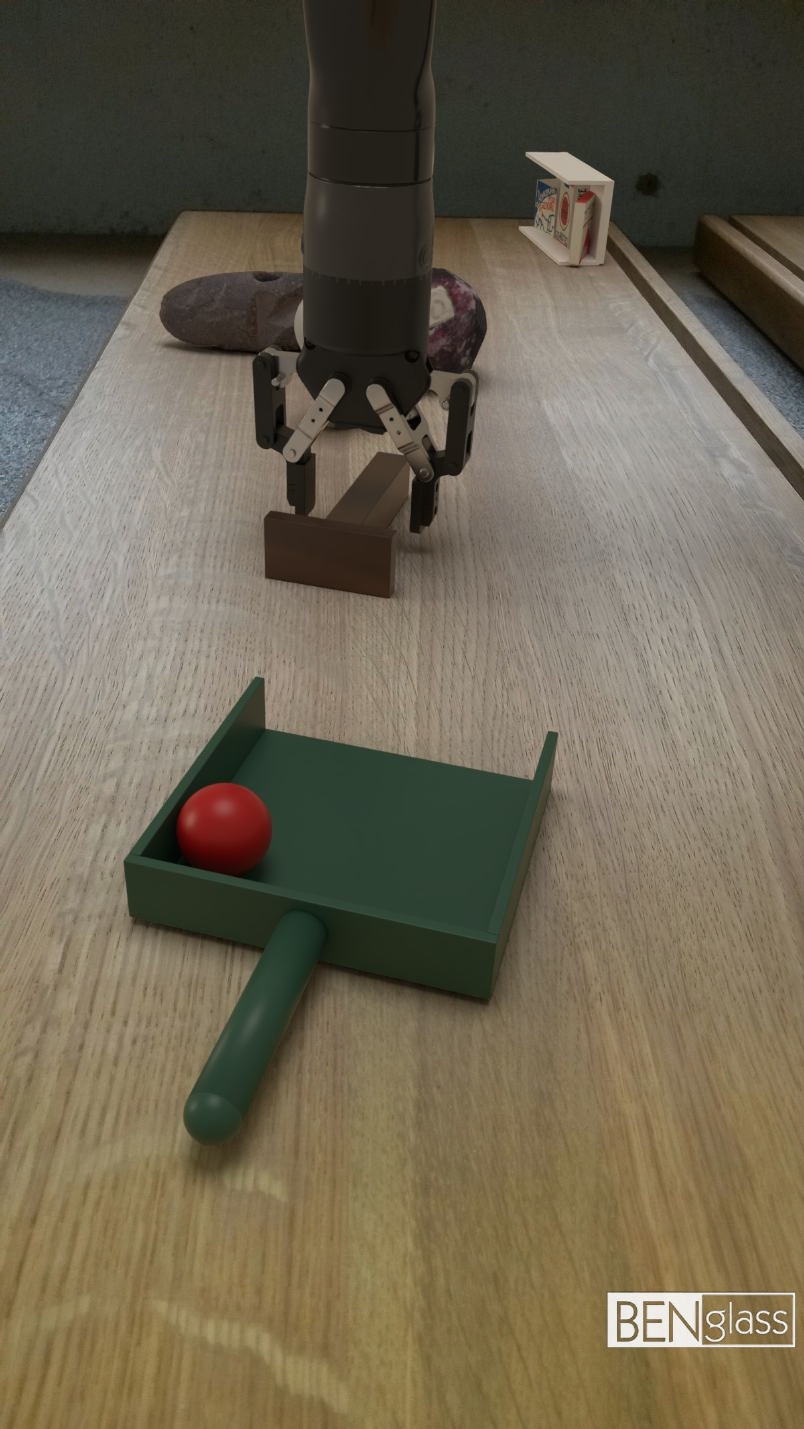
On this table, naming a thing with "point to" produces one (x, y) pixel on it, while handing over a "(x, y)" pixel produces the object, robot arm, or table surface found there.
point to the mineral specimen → (454, 323)
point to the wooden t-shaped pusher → (344, 535)
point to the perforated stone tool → (235, 310)
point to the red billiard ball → (224, 829)
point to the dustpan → (339, 881)
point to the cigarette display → (570, 210)
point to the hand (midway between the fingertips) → (361, 519)
